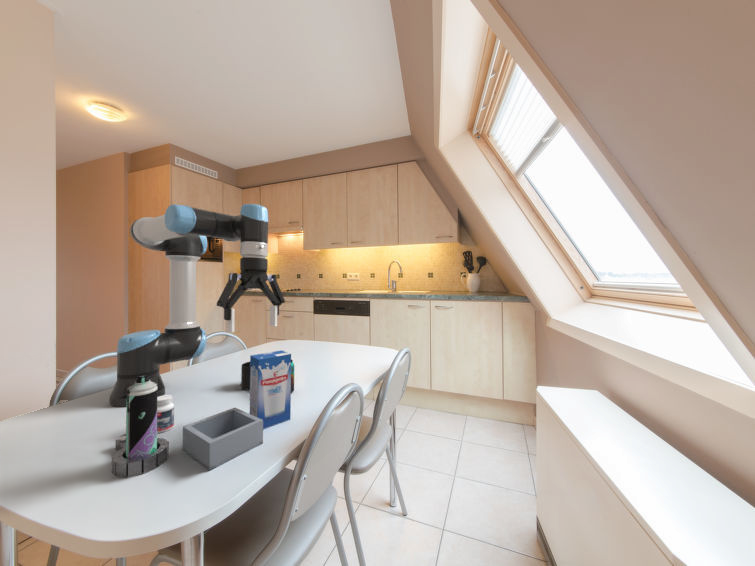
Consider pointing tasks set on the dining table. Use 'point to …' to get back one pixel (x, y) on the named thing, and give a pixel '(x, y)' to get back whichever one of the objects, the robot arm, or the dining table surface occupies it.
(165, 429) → the pill bottle
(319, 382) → the dining table surface
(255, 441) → the bin
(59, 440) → the dining table surface
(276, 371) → the milk carton
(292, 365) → the beverage can
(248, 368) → the mug
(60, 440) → the dining table surface
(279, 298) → the robot arm
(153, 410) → the spray can
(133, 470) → the socket ring
